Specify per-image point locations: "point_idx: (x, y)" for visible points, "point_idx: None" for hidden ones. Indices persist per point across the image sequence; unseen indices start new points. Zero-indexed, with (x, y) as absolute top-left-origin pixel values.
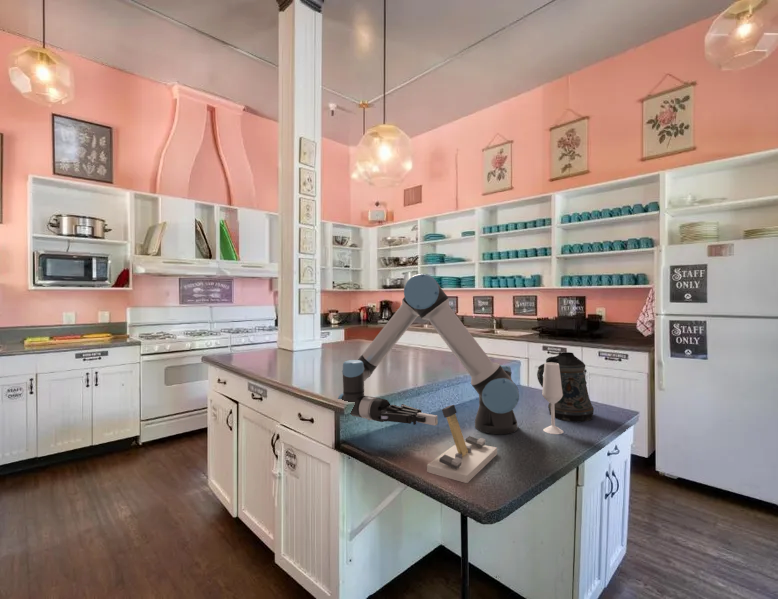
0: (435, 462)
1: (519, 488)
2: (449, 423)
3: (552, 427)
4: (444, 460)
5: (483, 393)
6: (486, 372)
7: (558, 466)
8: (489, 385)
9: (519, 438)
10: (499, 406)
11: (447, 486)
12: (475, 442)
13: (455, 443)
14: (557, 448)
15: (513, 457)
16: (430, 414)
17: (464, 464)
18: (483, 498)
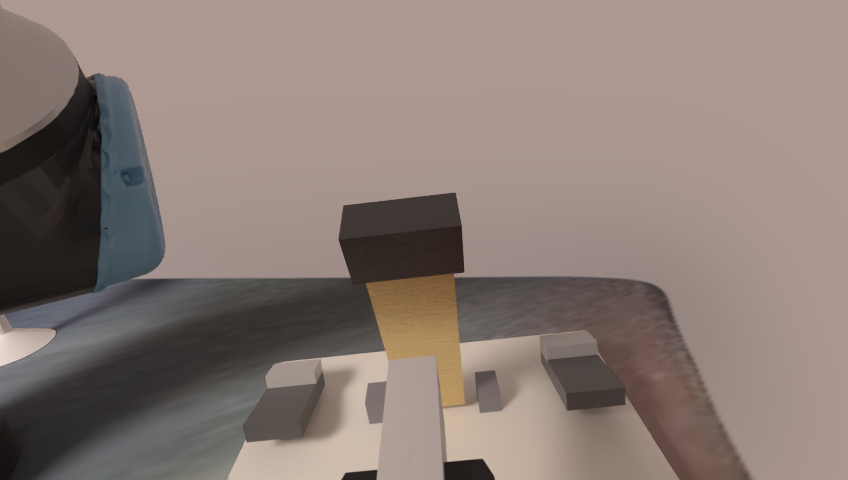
0: (608, 463)
1: (492, 283)
2: (454, 292)
3: (17, 333)
4: (612, 373)
5: (122, 174)
6: (35, 34)
7: (322, 278)
8: (130, 110)
9: (90, 390)
10: (160, 225)
11: (667, 381)
12: (311, 387)
13: (461, 368)
14: (194, 305)
15: (300, 345)
16: (389, 415)
17: (512, 369)
18: (611, 302)
